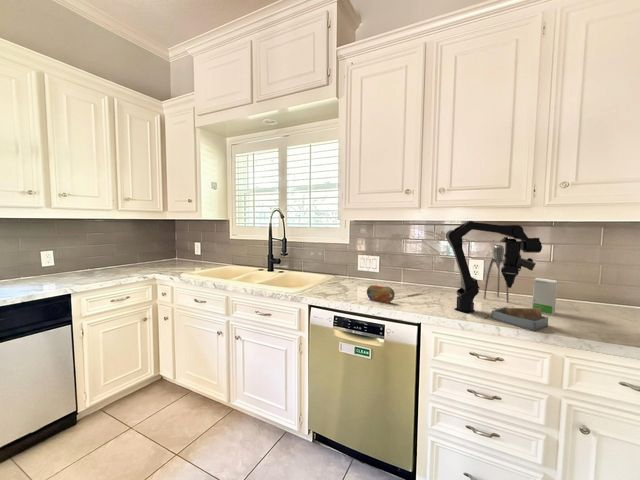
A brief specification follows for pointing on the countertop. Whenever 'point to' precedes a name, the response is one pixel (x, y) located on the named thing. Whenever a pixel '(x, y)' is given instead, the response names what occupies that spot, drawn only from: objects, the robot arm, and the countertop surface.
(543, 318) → the tray
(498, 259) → the juicer
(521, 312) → the brown block
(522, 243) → the robot arm
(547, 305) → the skincare box
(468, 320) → the countertop surface
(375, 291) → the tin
